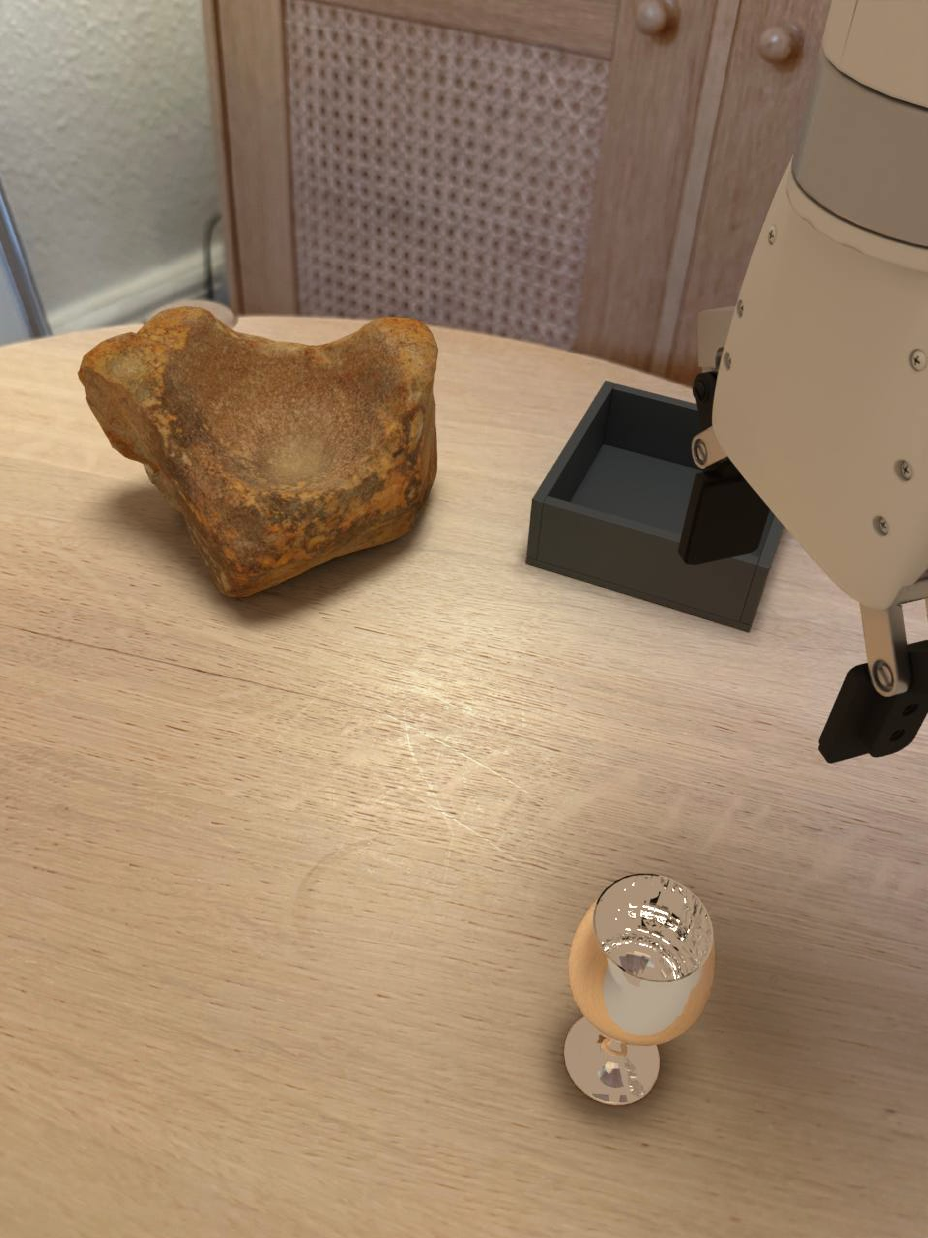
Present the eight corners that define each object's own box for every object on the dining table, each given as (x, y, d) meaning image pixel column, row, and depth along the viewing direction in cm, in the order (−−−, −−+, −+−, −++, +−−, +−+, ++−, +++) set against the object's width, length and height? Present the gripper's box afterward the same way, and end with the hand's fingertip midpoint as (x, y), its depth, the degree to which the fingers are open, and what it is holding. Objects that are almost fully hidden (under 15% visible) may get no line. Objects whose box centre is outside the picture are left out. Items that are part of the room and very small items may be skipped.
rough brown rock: (93, 645, 68) (42, 467, 57) (112, 468, 79) (72, 287, 67) (457, 625, 72) (478, 453, 60) (428, 458, 82) (441, 285, 71)
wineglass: (624, 1149, 47) (671, 1029, 39) (524, 1059, 50) (547, 928, 41) (698, 1054, 50) (756, 923, 42) (600, 973, 53) (636, 835, 44)
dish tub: (795, 496, 80) (815, 433, 76) (749, 632, 70) (769, 568, 66) (596, 441, 84) (605, 379, 80) (525, 563, 74) (531, 498, 70)
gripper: (1393, 304, 21) (1035, 811, 33) (881, 25, 33) (753, 479, 45) (1087, 360, 19) (825, 876, 31) (657, 43, 31) (587, 511, 43)
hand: (783, 642), depth 38 cm, fingers open, 9 cm apart
